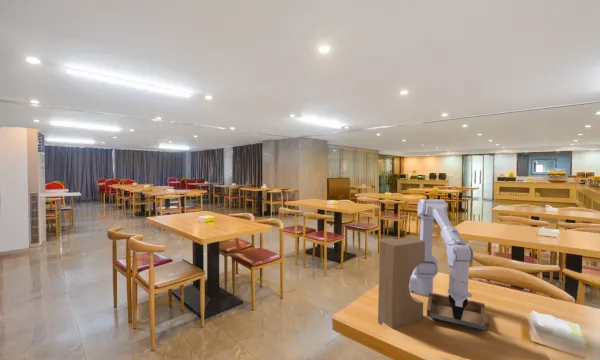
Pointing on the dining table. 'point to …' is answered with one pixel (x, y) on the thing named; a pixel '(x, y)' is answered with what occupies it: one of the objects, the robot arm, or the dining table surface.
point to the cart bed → (443, 307)
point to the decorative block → (399, 281)
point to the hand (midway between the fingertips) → (457, 318)
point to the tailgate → (458, 321)
